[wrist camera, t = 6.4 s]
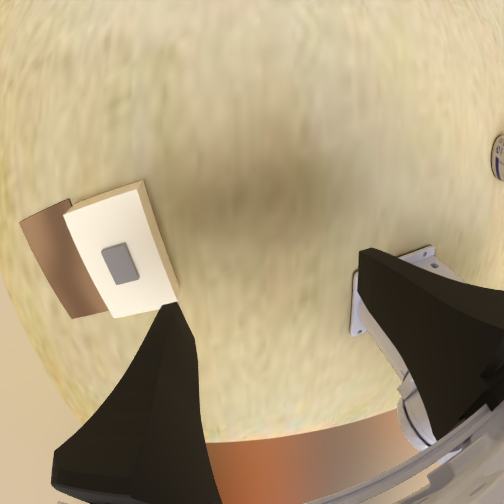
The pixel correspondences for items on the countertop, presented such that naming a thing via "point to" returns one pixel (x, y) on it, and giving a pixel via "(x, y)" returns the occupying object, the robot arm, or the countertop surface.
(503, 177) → the energy drink
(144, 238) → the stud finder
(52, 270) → the brown flat slab
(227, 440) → the countertop surface
